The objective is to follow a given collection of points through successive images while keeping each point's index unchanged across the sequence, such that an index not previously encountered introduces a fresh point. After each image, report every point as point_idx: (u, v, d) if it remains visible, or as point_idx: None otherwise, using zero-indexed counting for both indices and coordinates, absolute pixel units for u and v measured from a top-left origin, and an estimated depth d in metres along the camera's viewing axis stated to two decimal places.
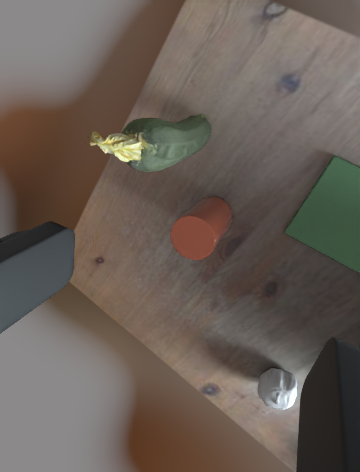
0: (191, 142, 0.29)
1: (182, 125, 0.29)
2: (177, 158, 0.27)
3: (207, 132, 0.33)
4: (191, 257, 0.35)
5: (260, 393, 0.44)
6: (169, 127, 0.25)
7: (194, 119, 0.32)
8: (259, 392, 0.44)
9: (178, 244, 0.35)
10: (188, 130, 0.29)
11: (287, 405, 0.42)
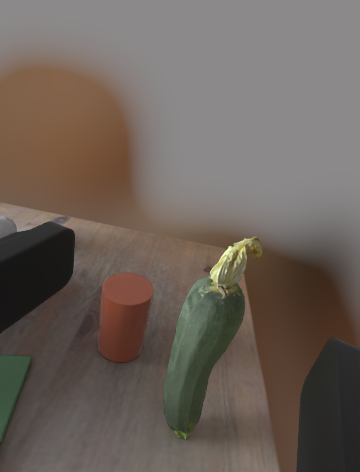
0: (175, 358, 0.24)
1: (195, 373, 0.23)
2: (178, 320, 0.23)
3: (167, 404, 0.25)
4: (121, 274, 0.33)
5: (11, 221, 0.46)
6: (202, 335, 0.21)
7: (189, 406, 0.25)
8: (13, 222, 0.47)
9: (139, 279, 0.33)
10: (186, 372, 0.23)
11: None
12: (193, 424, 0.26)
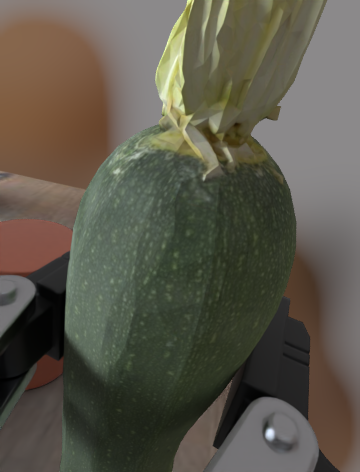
0: (63, 415, 0.08)
1: (123, 467, 0.07)
2: None
3: None
4: (23, 220, 0.17)
5: None
6: (122, 348, 0.05)
7: None
8: None
9: (57, 230, 0.17)
10: (96, 462, 0.07)
11: None
12: None
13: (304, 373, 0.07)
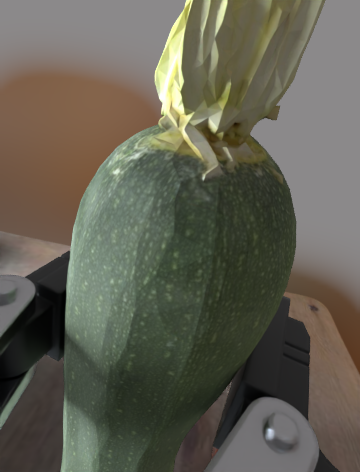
0: (65, 416, 0.08)
1: (124, 467, 0.07)
2: None
3: None
4: None
5: None
6: (122, 349, 0.05)
7: None
8: None
9: None
10: (97, 463, 0.07)
11: None
12: None
13: (304, 373, 0.07)
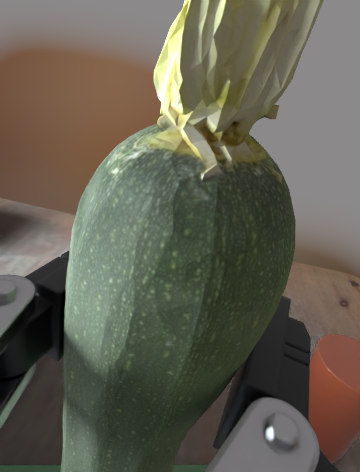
0: (64, 416, 0.08)
1: (124, 467, 0.07)
2: None
3: None
4: (328, 337, 0.23)
5: None
6: (121, 348, 0.05)
7: None
8: None
9: (357, 345, 0.23)
10: (96, 463, 0.07)
11: None
12: None
13: (305, 373, 0.07)
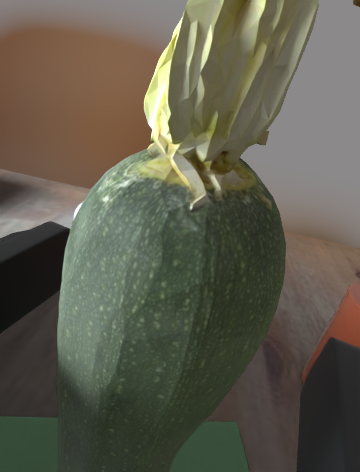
0: (58, 432, 0.08)
1: None
2: None
3: None
4: (359, 284, 0.21)
5: None
6: (112, 373, 0.05)
7: None
8: None
9: None
10: None
11: None
12: None
13: None
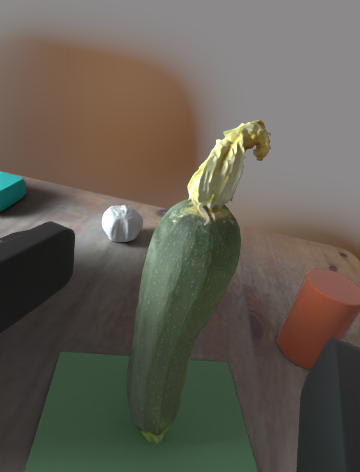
0: (139, 326, 0.16)
1: (167, 348, 0.16)
2: (143, 269, 0.16)
3: (130, 394, 0.18)
4: (315, 270, 0.29)
5: (137, 212, 0.43)
6: (175, 284, 0.14)
7: (160, 397, 0.17)
8: None
9: (337, 276, 0.29)
10: (155, 347, 0.16)
11: (111, 209, 0.41)
12: (167, 423, 0.19)
13: None
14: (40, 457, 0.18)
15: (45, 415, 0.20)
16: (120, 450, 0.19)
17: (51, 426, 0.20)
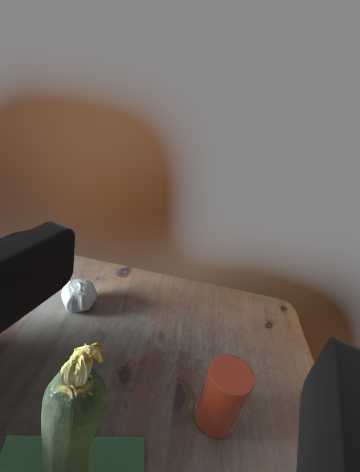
0: None
1: (61, 463, 0.23)
2: None
3: None
4: (220, 357, 0.36)
5: (92, 284, 0.49)
6: (53, 434, 0.20)
7: None
8: (93, 285, 0.50)
9: (237, 362, 0.36)
10: (53, 462, 0.23)
11: (68, 285, 0.48)
12: None
13: None
14: None
15: None
16: None
17: None
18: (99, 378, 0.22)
